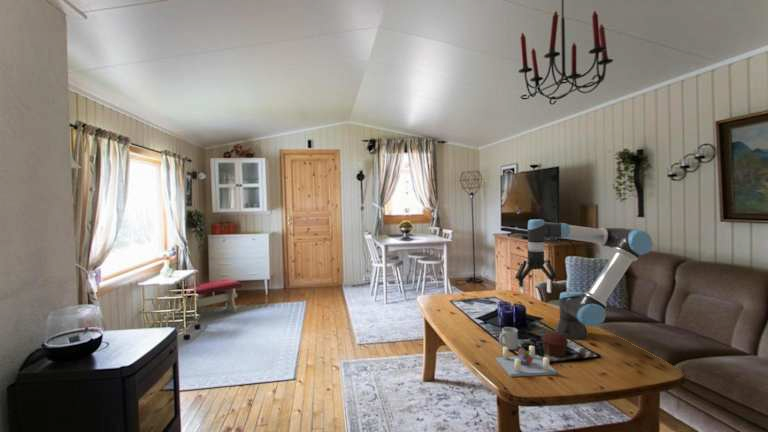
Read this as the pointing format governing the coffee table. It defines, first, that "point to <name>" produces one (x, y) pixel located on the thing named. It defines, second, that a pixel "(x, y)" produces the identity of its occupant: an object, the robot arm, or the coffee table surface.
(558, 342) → the muffin
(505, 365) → the peg board
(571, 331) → the robot arm
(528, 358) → the geometric puzzle
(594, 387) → the coffee table surface
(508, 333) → the cup
